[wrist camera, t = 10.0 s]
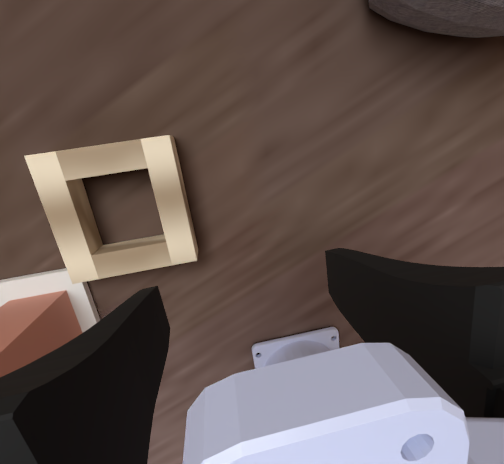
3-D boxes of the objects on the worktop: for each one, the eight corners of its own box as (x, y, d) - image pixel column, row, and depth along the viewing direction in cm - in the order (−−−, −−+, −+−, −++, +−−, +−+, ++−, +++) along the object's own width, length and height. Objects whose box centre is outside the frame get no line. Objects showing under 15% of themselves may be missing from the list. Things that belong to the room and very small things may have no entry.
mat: (108, 342, 23) (105, 347, 22) (25, 360, 22) (20, 365, 22) (80, 265, 21) (77, 268, 20) (-12, 282, 20) (-19, 286, 20)
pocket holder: (198, 250, 22) (197, 260, 20) (86, 270, 21) (72, 284, 19) (173, 136, 19) (169, 135, 17) (45, 155, 18) (24, 155, 16)
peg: (83, 335, 22) (14, 434, 14) (29, 345, 21) (-72, 453, 14) (66, 290, 21) (-20, 371, 13) (9, 300, 20) (-114, 390, 13)
